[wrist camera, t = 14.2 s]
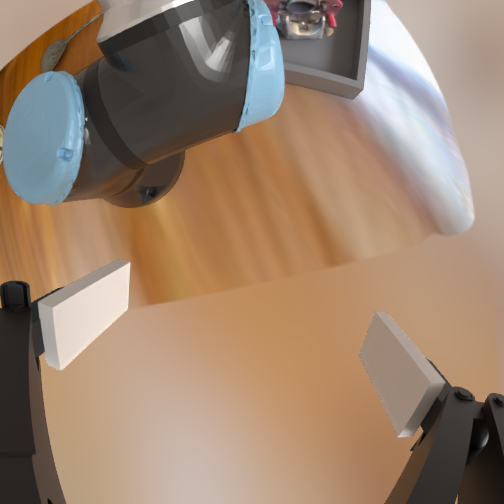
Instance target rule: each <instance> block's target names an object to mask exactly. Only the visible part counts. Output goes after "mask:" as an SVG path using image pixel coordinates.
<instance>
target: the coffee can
mask: <svg viewBox="0 0 504 504" xmlns="http://www.w3.org/2000/svg"><path fill="white" fill-rule="evenodd" d="M4 130H5V129H4V127H3V126H2V125H0V164H1V162H2V160H3V156H2V145H3V136H4Z"/></svg>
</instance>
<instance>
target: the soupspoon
mask: <svg viewBox="0 0 504 504" xmlns="http://www.w3.org/2000/svg"><path fill="white" fill-rule="evenodd" d="M103 14H104V13H103V11H102V12H101V13H99V14H98V15H97V16H95V17H94V18H93V19H91V20H90V21H89V22H87V23H86V24H85V25H83V26H82V27H81V28H79V29H78V30H77V31H76V32H75V33H73V34H72V35H71V36H70V37H69V38H68V39H67V40H58V41H56V42H54V43H52V44H51V45H50V46H49V47H48V48H47V50H46V51H45V53H44V55H43V57H42V61H41V71H42V73H45V72H48V71H52V70H53V69H54V67H55V66H56V64H57V62H58V61H59V59H60V57H61V55H62V53H63V51H64V49H65V47H66V45H67V43H68V42H69V41H70V40H71V39H72V38H73V37H75V36H76V35H77V34H78V33H79V32H80V31H81V30H83V29H84V28H85V27H86V26H88V25H89V24H90V23H92V22H93V21H94V20H96V19H97V18H98V17H100V16H101V15H103Z"/></svg>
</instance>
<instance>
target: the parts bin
mask: <svg viewBox="0 0 504 504" xmlns="http://www.w3.org/2000/svg"><path fill="white" fill-rule="evenodd" d="M339 1H341V2H342V3H343V7H342V8H341V9H340V10H339V11H338V13H337V14H336V15H335V16H334V17H335V21H336V24H337V27H336V28H333V30H334V32H333V33H332V34H331V36H327V35H326V33H325V30H324V32H323V37H322V39H317V40H314V39H300V40H287V39H285V37H284V36H283V35H282V34H281V31H280V29H278V28H276V30H277V33H278V36H279V40H280V45H281V50H282V56H283V64H284V76H285V83H287V84H292V85H297V86H302V87H306V88H310V89H314V90H319V91H323V92H326V93H330V94H334V95H338V96H341V97H345V98H348V99H352V100H353V99H354V98H355V97H356V96H357V95H358V94H359V93H360V92H361V91H362V90H363V88H364V79H365V71H366V62H367V52H368V41H369V28H370V13H371V0H339Z"/></svg>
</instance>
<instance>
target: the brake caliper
mask: <svg viewBox="0 0 504 504" xmlns="http://www.w3.org/2000/svg"><path fill="white" fill-rule="evenodd" d="M263 1H264V2H265V3H266V5H267V7H268V8H269V11H270V13H271V16H272V21H273V26H274V27H275V28H278V29H280V31H281V34H282V35H283V36H284V37H285V39H287V40H300V39H314V40H317V39H322V37H323V32H324V30H325V33H326V35H327V36H331V34H332V33H333V32H334V30H333V28H336V27H337V24H336V21H335V17H334V16H335V15H336V14H337V13H338V11H339V10H340V9H341V8H342V7H343V3H342V2H341V1H339V0H263Z"/></svg>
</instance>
